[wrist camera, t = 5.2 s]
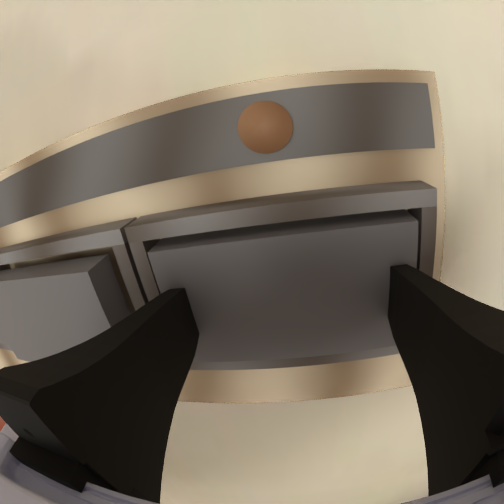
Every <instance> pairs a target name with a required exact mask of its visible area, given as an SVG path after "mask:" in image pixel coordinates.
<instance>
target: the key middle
mask: <svg viewBox="0 0 504 504" xmlns="http://www.w3.org/2000/svg"><path fill="white" fill-rule="evenodd" d="M129 315H130V311H129V309H128V306H127V304H126V301H125V299H124V296H123V294H122V291H121V288H120V286H119V283H118V280H117V278H116V275H115V272H114V269H113V267H112V264H111V261H110V258H109V255H108V254H106V255H99V256H92V257H85V258H78V259H72V260H65V261H58V262H52V263H45V264H39V265H32V266H26V267H20V268H13V269H7V270H1V271H0V329H1V331H2V333H3V335H4V337H5V338H6V340H7V342H8V344H9V345H10V347H11V349H12V350H13V352H14V354H15V355H16V357H17V359H20V360H24V361H29V362H32V361H35V360H39V359H42V358H45V357H48V356H51V355H54V354H57V353H60V352H62V351H64V350H67V349H69V348H71V347H74V346H76V345H78V344H81V343H83V342H85V341H87V340H89V339H91V338H93V337H95V336H96V335H98V334H100V333H102V332H104V331H105V330H107V329H109V328H110V327H112V326H113V325H115V324H116V323H118V322H120V321H121V320H123V319H124V318H126V317H127V316H129Z"/></svg>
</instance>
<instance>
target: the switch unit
mask: <svg viewBox="0 0 504 504" xmlns="http://www.w3.org/2000/svg"><path fill="white" fill-rule="evenodd" d="M400 209H405V210H406V211H407V212H409V213H410V214H411V215H412V216H413V217H415V218H416V219H417V220H418V252H417V268H416V269H418V270H420V271H422V272H423V273H425V274H427V275H429V276H430V277H432V278H434V279H436V280H437V281H439V282H440V274H441V265H442V255H443V242H444V225H445V159H444V143H443V130H442V120H441V112H440V104H439V97H438V90H437V84H436V78H435V72H432V71H416V70H346V71H329V72H317V73H306V74H297V75H289V76H281V77H274V78H267V79H261V80H255V81H249V82H244V83H239V84H233V85H229V86H224V87H219V88H215V89H210V90H206V91H202V92H198V93H194V94H190V95H186V96H182V97H178V98H175V99H171V100H168V101H164V102H161V103H158V104H154V105H151V106H148V107H145V108H142V109H139V110H136V111H133V112H130V113H127V114H124V115H121V116H119V117H116V118H113V119H111V120H108V121H105V122H103V123H100V124H98V125H95V126H93V127H90V128H88V129H85V130H83V131H81V132H78V133H76V134H74V135H71V136H69V137H67V138H65V139H63V140H60V141H58V142H56V143H54V144H52V145H50V146H48V147H46V148H44V149H42V150H40V151H38V152H36V153H34V154H32V155H30V156H28V157H26V158H24V159H23V160H21V161H19V162H17V163H15V164H13V165H12V166H10V167H8V168H6V169H5V170H3V171H1V172H0V271H1V270H7V269H13V268H20V267H26V266H32V265H39V264H45V263H52V262H58V261H65V260H72V259H78V258H85V257H92V256H99V255H106V254H108V255H109V258H110V261H111V264H112V267H113V269H114V272H115V275H116V278H117V280H118V283H119V286H120V288H121V291H122V294H123V296H124V299H125V301H126V304H127V306H128V309H129V311H130V314H132V313H133V312H135V311H136V310H138V309H139V308H141V307H142V306H143V305H145V304H146V303H148V302H149V301H151V300H152V299H154V298H155V297H157V296H158V295H160V294H161V293H160V290H159V288H158V285H157V282H156V279H155V276H154V272H153V269H152V266H151V263H150V260H149V257H148V253H147V252H148V251H149V250H150V249H151V248H152V247H153V246H154V245H155V244H156V243H157V242H158V241H159V240H160V239H162V238H168V237H175V236H182V235H189V234H196V233H203V232H211V231H218V230H226V229H233V228H241V227H249V226H256V225H264V224H272V223H281V222H289V221H297V220H306V219H314V218H323V217H332V216H341V215H351V214H360V213H370V212H380V211H390V210H400ZM28 362H29V361H24V360H20V359H17V357H16V355H15V354H14V352H13V350H12V349H11V347H10V345H7V344H2V343H0V368H4V367H8V366H13V365H18V364H23V363H28ZM411 385H412V383H411V381H410V378H409V376H408V373H407V371H406V368H405V366H404V363H403V361H402V358H401V356H400V353H399V351H398V348H397V346H390V347H384V348H377V349H371V350H364V351H357V352H349V353H341V354H332V355H323V356H313V357H302V358H290V359H276V360H259V361H233V362H192V365H191V367H190V370H189V373H188V375H187V378H186V380H185V383H184V386H183V388H182V391H181V393H180V396H179V399H178V401H186V402H208V403H268V402H289V401H304V400H316V399H326V398H336V397H344V396H352V395H359V394H366V393H373V392H379V391H385V390H390V389H396V388H401V387H406V386H411Z"/></svg>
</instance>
